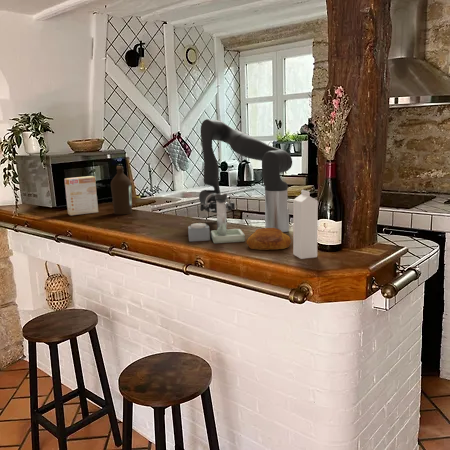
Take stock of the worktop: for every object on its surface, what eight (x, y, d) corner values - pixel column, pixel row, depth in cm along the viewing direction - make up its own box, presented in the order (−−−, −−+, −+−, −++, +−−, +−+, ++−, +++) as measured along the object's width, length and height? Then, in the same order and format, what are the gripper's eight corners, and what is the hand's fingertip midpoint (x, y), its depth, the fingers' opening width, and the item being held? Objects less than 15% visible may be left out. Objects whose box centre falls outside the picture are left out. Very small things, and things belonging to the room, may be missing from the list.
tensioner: (206, 232, 195) (206, 218, 194) (209, 240, 181) (209, 225, 180) (187, 234, 194) (186, 219, 193) (189, 241, 180) (188, 226, 179)
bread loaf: (288, 258, 162) (291, 236, 160) (243, 251, 165) (246, 229, 163) (290, 246, 176) (293, 226, 174) (249, 240, 179) (252, 219, 177)
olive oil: (112, 215, 242) (109, 167, 237) (113, 212, 252) (109, 165, 247) (133, 214, 244) (130, 166, 239) (133, 210, 255) (129, 165, 250)
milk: (300, 259, 152) (300, 192, 148) (293, 254, 158) (292, 190, 153) (317, 257, 154) (318, 191, 149) (309, 252, 160) (309, 188, 155)
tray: (239, 234, 190) (239, 228, 189) (245, 241, 178) (244, 235, 178) (210, 236, 188) (210, 230, 188) (213, 243, 177) (213, 236, 176)
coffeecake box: (95, 210, 259) (91, 175, 255) (98, 212, 253) (95, 176, 249) (67, 213, 252) (63, 177, 248) (70, 215, 246) (67, 178, 242)
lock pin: (227, 235, 185) (226, 193, 182) (228, 238, 181) (227, 194, 177) (215, 236, 185) (214, 193, 181) (216, 238, 180) (215, 195, 177)
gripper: (197, 195, 202) (201, 200, 186) (230, 193, 204) (236, 198, 188) (198, 212, 203) (202, 218, 188) (230, 210, 205) (236, 217, 189)
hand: (219, 208), depth 188 cm, fingers open, 8 cm apart
